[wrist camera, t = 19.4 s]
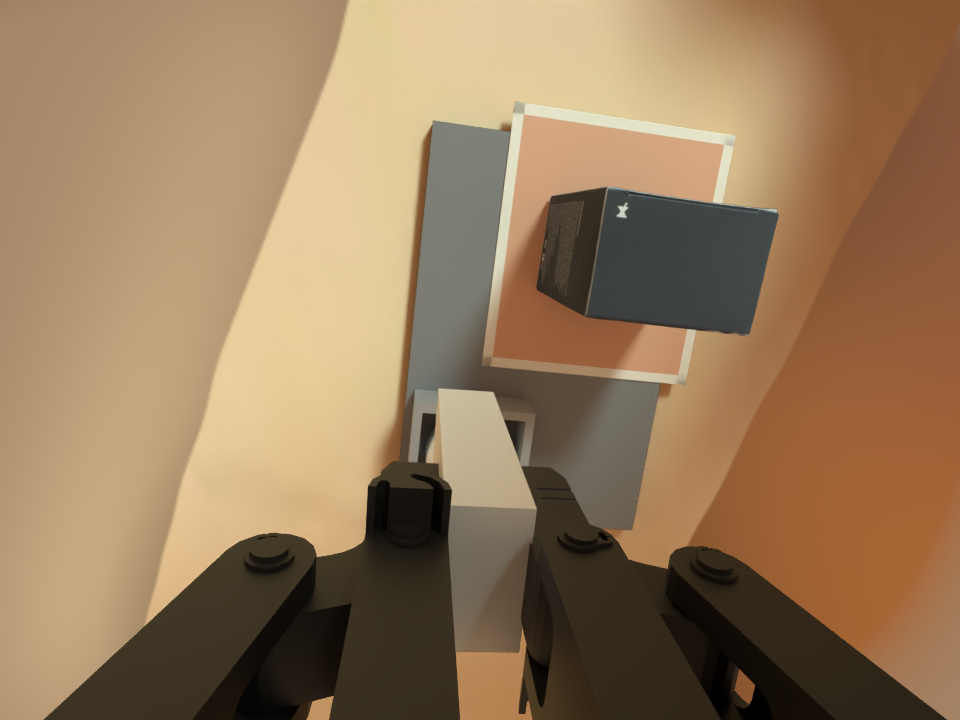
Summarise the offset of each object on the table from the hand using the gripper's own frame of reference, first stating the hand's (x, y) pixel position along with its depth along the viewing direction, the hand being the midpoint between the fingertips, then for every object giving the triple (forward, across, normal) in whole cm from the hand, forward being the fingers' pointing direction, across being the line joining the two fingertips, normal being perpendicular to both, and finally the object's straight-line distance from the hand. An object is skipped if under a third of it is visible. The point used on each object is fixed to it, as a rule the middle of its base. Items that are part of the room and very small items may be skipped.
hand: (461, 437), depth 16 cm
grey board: (+21, +7, 0) cm, 22 cm away
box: (+20, +9, +5) cm, 22 cm away
